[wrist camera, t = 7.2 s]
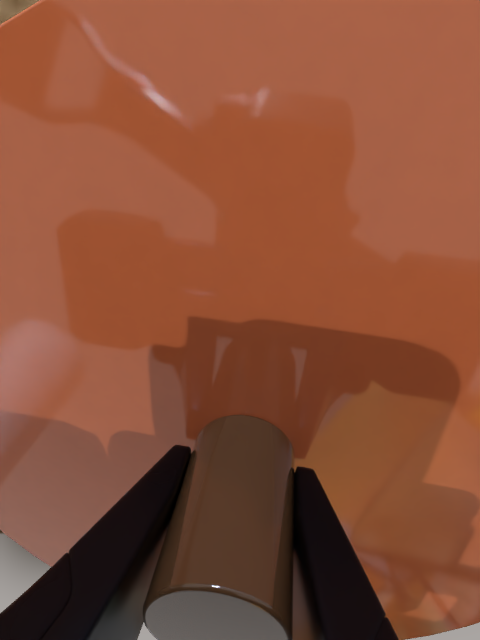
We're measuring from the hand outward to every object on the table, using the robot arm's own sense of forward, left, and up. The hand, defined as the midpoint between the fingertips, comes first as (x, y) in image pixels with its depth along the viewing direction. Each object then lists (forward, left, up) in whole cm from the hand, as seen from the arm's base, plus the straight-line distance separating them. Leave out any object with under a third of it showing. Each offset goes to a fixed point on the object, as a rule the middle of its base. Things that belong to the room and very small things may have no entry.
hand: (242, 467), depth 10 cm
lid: (0, 0, -1) cm, 1 cm away
